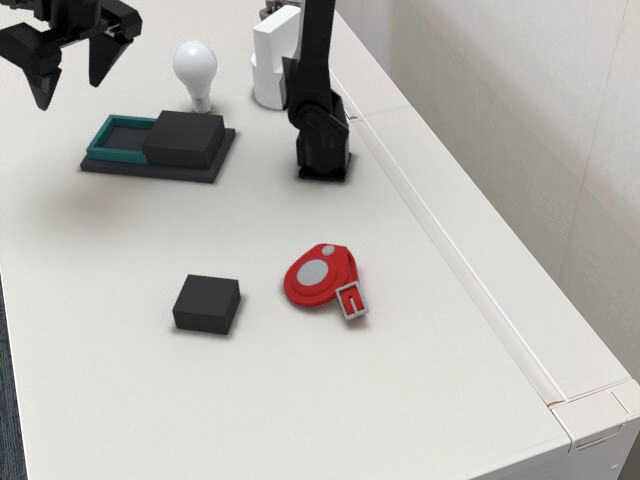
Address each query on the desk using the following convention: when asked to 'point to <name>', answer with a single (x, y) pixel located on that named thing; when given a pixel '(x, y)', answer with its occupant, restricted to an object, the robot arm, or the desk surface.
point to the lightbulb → (196, 71)
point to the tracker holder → (326, 280)
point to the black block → (207, 304)
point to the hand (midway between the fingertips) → (68, 97)
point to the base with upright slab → (273, 53)
